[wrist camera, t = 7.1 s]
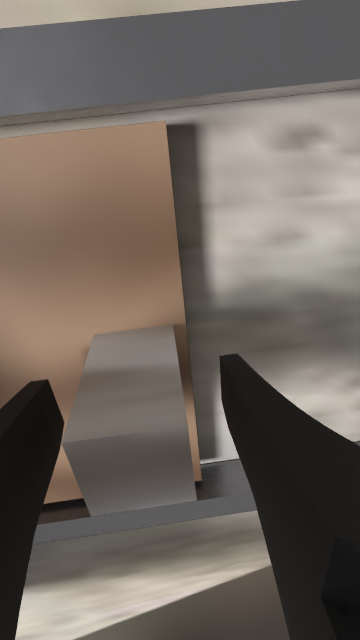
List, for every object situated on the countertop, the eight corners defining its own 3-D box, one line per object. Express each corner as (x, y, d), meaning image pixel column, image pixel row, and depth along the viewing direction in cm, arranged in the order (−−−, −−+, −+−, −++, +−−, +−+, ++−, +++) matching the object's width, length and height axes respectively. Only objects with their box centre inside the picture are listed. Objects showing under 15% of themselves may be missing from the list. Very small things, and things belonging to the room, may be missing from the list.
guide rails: (366, 458, 19) (388, 489, 17) (-77, 524, 18) (-101, 564, 16) (492, 8, 9) (574, -26, 7) (-444, 99, 8) (-603, 85, 7)
